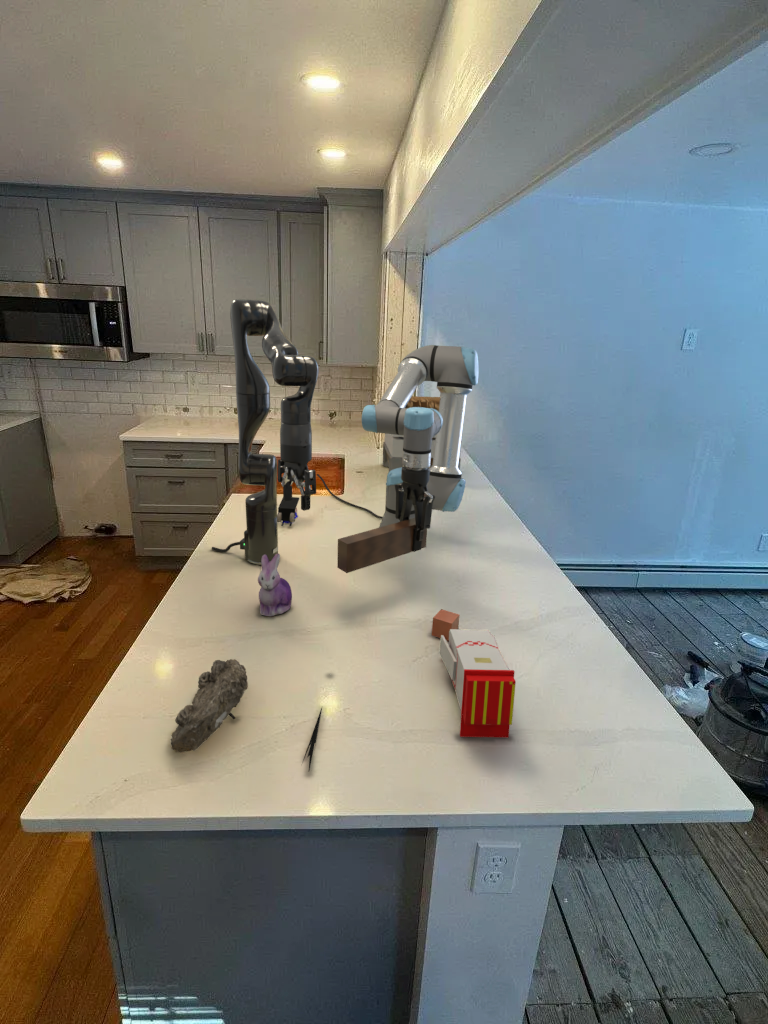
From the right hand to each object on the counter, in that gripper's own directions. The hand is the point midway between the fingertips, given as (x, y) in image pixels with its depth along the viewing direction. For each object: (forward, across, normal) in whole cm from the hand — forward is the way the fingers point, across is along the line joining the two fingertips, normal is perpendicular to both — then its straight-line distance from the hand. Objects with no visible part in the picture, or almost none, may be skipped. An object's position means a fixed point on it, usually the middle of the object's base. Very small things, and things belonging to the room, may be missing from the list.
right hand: (410, 547), depth 159 cm
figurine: (+12, -11, -37) cm, 41 cm away
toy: (+12, +43, -22) cm, 50 cm away
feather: (+12, +31, -52) cm, 61 cm away
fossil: (+12, +18, -67) cm, 70 cm away
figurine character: (+12, -63, -1) cm, 64 cm away
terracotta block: (+12, +24, -10) cm, 29 cm away
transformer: (+12, -84, +85) cm, 120 cm away
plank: (0, 0, -10) cm, 10 cm away
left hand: (-16, -10, -31) cm, 36 cm away
